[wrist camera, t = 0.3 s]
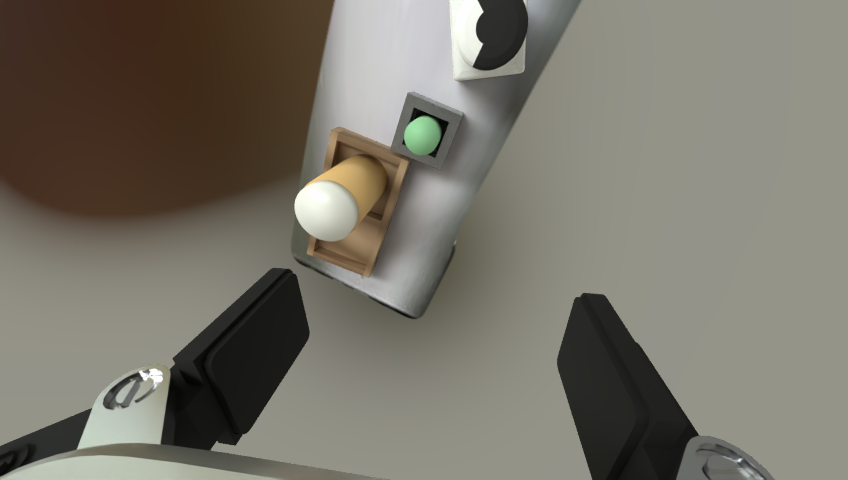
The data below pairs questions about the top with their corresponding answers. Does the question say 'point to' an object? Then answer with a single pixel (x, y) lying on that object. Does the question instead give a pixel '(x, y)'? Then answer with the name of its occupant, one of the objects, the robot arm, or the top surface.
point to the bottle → (341, 197)
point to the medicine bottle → (488, 37)
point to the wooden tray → (368, 236)
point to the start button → (423, 135)
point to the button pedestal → (435, 109)
